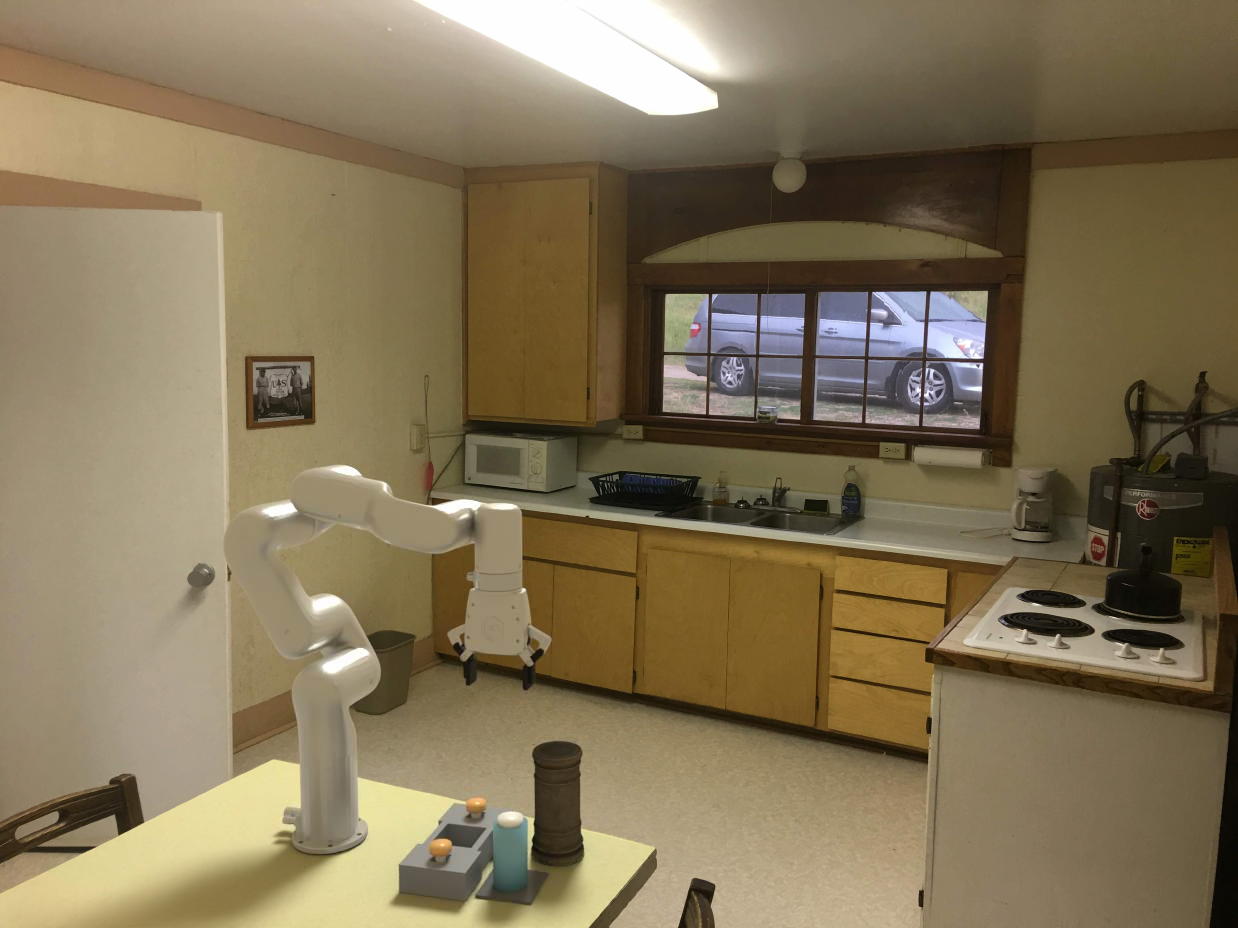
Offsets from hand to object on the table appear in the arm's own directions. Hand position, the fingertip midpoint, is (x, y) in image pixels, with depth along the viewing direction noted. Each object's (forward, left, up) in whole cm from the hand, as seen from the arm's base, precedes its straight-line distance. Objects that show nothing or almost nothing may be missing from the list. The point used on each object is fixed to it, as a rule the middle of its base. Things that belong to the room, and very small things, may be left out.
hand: (499, 685), depth 151 cm
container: (+8, +6, -31) cm, 32 cm away
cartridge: (+4, -6, -30) cm, 31 cm away
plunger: (-7, -8, -30) cm, 32 cm away
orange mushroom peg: (-7, +7, -30) cm, 31 cm away
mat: (+4, -6, -30) cm, 31 cm away
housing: (-7, -1, -30) cm, 31 cm away
